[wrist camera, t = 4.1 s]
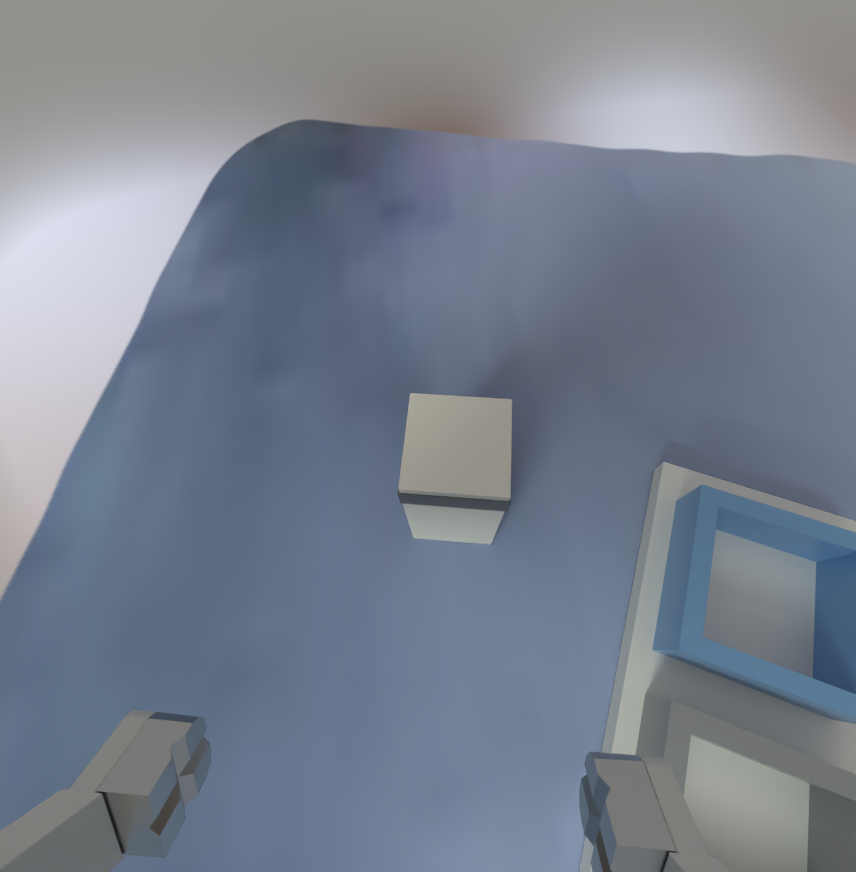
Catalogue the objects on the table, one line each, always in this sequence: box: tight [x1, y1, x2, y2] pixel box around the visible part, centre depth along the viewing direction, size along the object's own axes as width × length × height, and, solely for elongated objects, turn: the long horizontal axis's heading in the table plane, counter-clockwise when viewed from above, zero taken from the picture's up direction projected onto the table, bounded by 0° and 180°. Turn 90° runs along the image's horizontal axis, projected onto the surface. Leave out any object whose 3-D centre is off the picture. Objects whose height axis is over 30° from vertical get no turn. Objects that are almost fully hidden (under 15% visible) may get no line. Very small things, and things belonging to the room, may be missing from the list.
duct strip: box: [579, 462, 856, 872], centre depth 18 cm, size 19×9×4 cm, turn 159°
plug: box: [398, 393, 512, 544], centre depth 21 cm, size 4×4×8 cm
